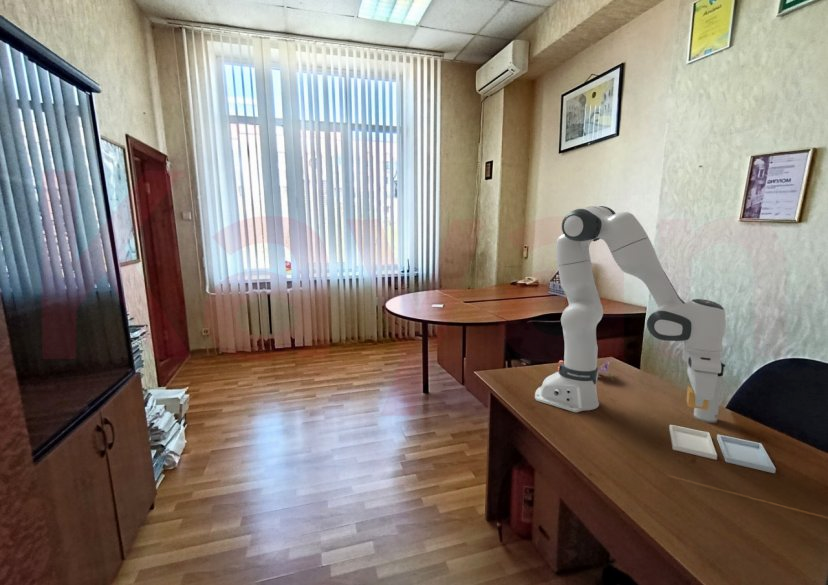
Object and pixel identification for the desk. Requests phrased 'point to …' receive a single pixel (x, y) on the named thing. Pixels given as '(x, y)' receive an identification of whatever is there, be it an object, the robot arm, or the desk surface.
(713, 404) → the travel mug
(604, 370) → the lily
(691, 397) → the letter cube
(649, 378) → the desk surface
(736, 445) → the tray bluegrey
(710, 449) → the tray white
